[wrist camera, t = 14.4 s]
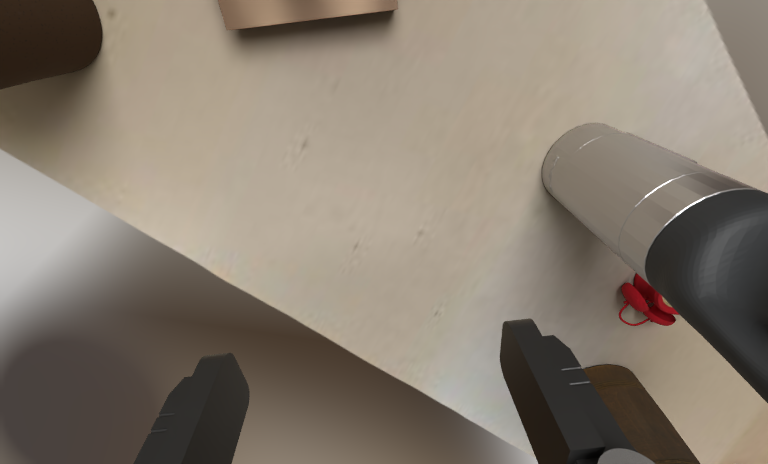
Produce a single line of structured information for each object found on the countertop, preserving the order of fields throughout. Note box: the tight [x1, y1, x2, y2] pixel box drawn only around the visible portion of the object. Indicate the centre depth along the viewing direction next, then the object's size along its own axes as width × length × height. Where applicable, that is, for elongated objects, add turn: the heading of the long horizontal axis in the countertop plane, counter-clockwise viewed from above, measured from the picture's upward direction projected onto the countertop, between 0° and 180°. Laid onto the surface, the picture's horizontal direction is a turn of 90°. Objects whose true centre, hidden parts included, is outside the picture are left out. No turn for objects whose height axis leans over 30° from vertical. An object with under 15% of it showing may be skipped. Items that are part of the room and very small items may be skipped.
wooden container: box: [583, 365, 700, 464], centre depth 54 cm, size 15×15×22 cm
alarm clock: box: [619, 273, 679, 326], centre depth 48 cm, size 10×6×15 cm
